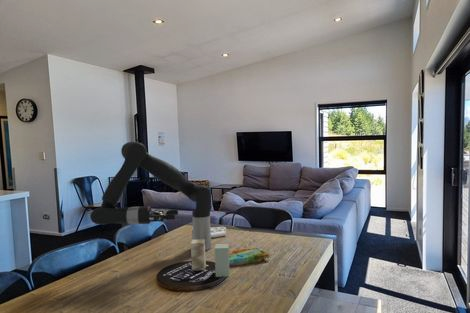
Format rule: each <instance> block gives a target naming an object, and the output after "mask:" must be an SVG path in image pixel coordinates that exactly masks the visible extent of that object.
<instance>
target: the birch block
mask: <svg viewBox="0 0 470 313" xmlns="http://www.w3.org/2000/svg"><path fill="white" fill-rule="evenodd" d="M190 253H191V256H190V257H191V271H205V270H206V266H207V263H206V262H207V260H206V257H207V256H206V250H205V239H201V240H192V239H191V242H190Z"/></svg>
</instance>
